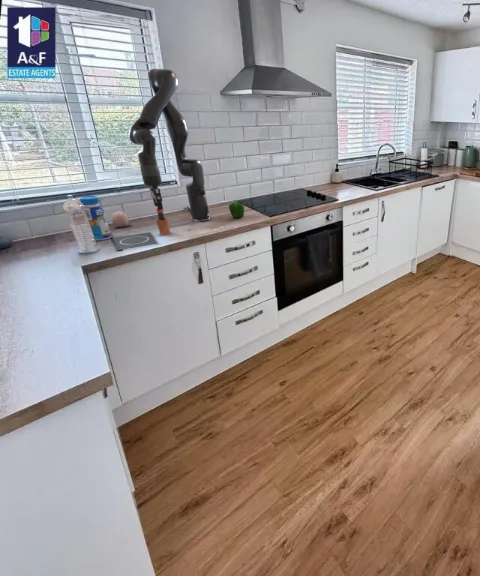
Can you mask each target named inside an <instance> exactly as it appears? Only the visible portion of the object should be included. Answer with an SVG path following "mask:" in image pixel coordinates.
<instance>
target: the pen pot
mask: <svg viewBox="0 0 480 576" xmlns="http://www.w3.org/2000/svg"><path fill="white" fill-rule="evenodd" d="M164 219H165V220H159V217H158V218H156V224H157V228H158V232H159V235H160V236H167V235H170V234H171V227H170V225H169V221H168V218H167V217H164Z"/></svg>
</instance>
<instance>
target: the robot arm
mask: <svg viewBox="0 0 480 576" xmlns="http://www.w3.org/2000/svg"><path fill="white" fill-rule="evenodd" d="M148 81H149V84H150V87H151V90H152V91H153V94H154V95H153V96H152V97H151V98H150V99H149V100H148V101H147V102H145V104H144V106H143V107H142V110H141V112H140V115H139V117H138V119H136V121H135V122H134V123H133V125H132V126H130V129H129V131H128V138H129V141H130V142H131V143H132V144H134V145H139V146H142V150H139V151H137V159H138V164H139V167H140V173H141V177H142V181H143V185H145V186H148V189H149V193H150V197H151V198H152V202H153V205H154V207H156V208H158V210H163V211H164V206H163V197H162V193H161V189H160V188H159V185H162V184H163V181H162V176H161V172H160V167H159V166H158V162H157V157H156V146H157V140H156V135H155V134H154V132H153V131H152V130H155V129H156V128H157V126H158V123H159V121H160V118H161V115H162V117H163V120H164V124H165V127H166V130H167V133H168V135H169V138H170V142H171V145H172V148H173V152H174V157H175V161H176V166H177V169H178V172H179V174H180V175H181V176H183V177H187V178H189V177H190V178H192V180H191V182H188V183H186V184H185V190H186V194H187V199H188V203H189V204H188V205H189V207H188V206H186V207H187V208H185V207H184V210H189V212H190V213H191V220H192V221H194V222H206V221H208V220H211V216H210V211H209V204H208V200H207V193H206V189H205V177H204V176H205V175H204V169H203V164H202V163H201V161H200V160H198V159H194V158H188V157H187V154H186V145H187V141H188V138H189V129H188V127H187V122H186V120H185V117H184V116H183V115H182V114H181V113H180V111H179V110H178V109H177V108H176V106H175V105H174V104H173V102H172V100H171V98H172V97H173V95H174V93H175V92H176V91H177V89H178V86H179V79H178V76H177V74H176V73H175V72H174V71H173V70H171V69H167V68H151V69H150V70H149V72H148Z"/></svg>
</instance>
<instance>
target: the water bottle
mask: <svg viewBox="0 0 480 576" xmlns="http://www.w3.org/2000/svg"><path fill="white" fill-rule="evenodd" d="M66 197H67V199H66V201H65V202H64V203H63V205H62V208H63V210H64V212H65V215H66V218H67V222H68V224H69V227H70V231H71V233H72V235H73V238H74V241H75V244H76V247H77V249H78V251H79V254H82V255H88V254H89V255H90V254H94V253H97V252H98V251H99V248H98V247H99V246H98V244H97V240H95V238H94V235H93V232H92V229H91V226H90V223H89V221H88V218H87V215H86V212H85V209H84V205H83V204H82V203H81V201H80V200H78V199H76V198H74V196H73V194H68V195H66Z"/></svg>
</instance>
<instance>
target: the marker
mask: <svg viewBox="0 0 480 576" xmlns="http://www.w3.org/2000/svg"><path fill="white" fill-rule="evenodd" d="M156 213H157V217H158V218H159V220H165V219H164V218H165V215H164V209H163V210H158V208H157V207H156Z"/></svg>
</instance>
